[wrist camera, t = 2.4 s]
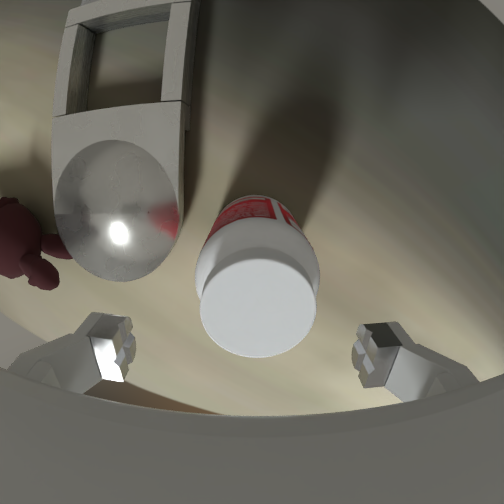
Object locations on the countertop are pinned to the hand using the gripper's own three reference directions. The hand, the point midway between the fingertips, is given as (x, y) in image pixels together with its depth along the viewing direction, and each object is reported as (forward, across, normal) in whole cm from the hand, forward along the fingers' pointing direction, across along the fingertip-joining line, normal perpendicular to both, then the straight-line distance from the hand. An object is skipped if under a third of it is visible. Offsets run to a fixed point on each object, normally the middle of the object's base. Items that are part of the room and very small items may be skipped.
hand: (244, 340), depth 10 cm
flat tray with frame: (+13, +9, -13) cm, 20 cm away
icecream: (+13, +21, 0) cm, 25 cm away
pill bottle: (+13, -1, 0) cm, 13 cm away
